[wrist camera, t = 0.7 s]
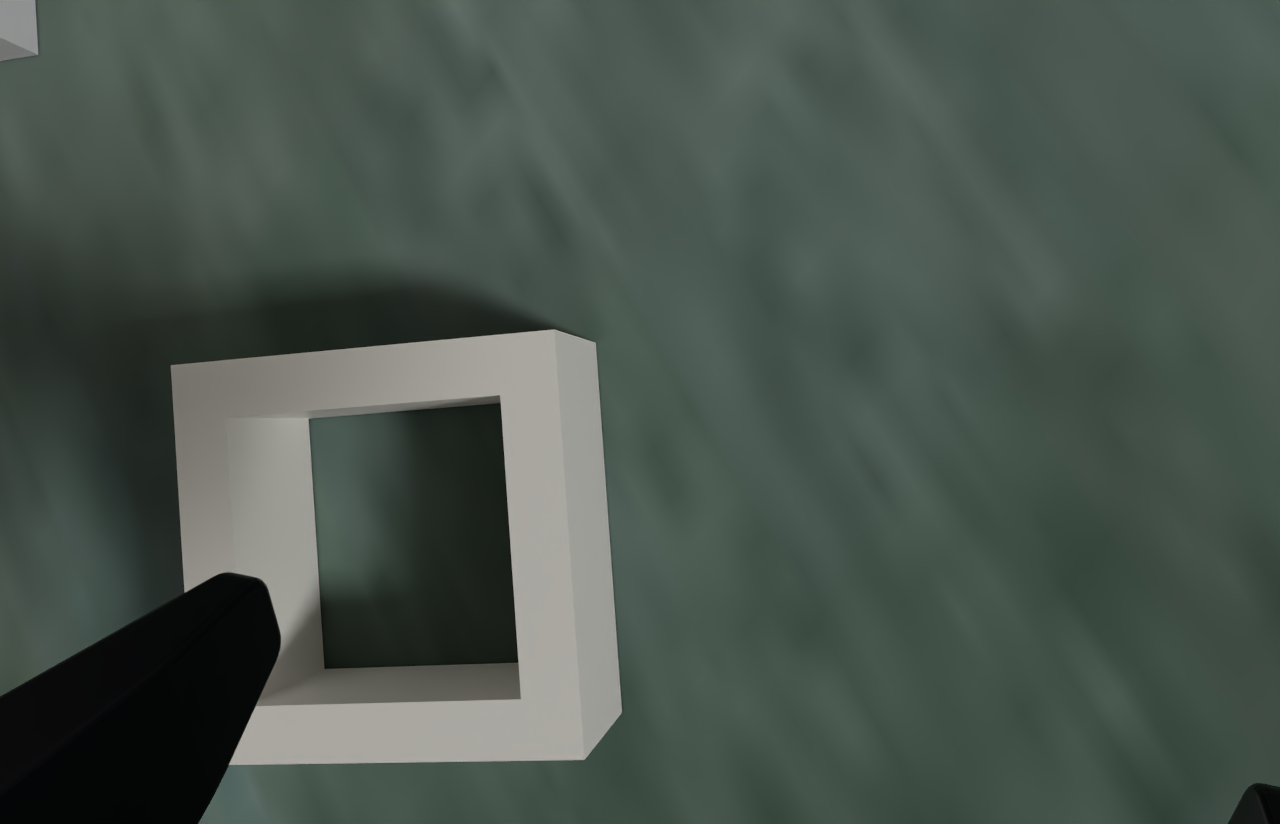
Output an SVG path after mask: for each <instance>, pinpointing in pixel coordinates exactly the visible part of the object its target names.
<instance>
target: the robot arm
mask: <svg viewBox="0 0 1280 824" xmlns="http://www.w3.org/2000/svg"><path fill="white" fill-rule="evenodd" d="M280 647H281V633H280V629H279V625H278V622H277V618H276V615H275V611H274V608H273V604H272V601H271V597H270V594H269V590H268V588H267V585H266V584H265V583H264V582H263V581H262V580H261V579H259V578H257V577H252V576H247V575H242V574H238V573H232V572H224V573H221V574H218V575H216V576H213V577H212V578H210V579H208V580H206V581H205V582H203V583H201V584H199V585H197V586H196V587H194V588H192V589H190V590H189V591H187V592H185V593H183V594H181V595H180V596H178V597H176V598H174V599H173V600H171V601H169V602H167V603H166V604H164V605H162V606H160V607H158V608H157V609H155V610H153V611H151V612H150V613H148V614H146V615H144V616H142V617H141V618H139V619H137V620H135V621H134V622H132V623H130V624H128V625H126V626H125V627H123V628H121V629H119V630H118V631H116V632H114V633H112V634H110V635H109V636H107V637H105V638H103V639H102V640H100V641H98V642H96V643H94V644H93V645H91V646H89V647H87V648H86V649H84V650H82V651H80V652H78V653H77V654H75V655H73V656H71V657H70V658H68V659H66V660H64V661H62V662H61V663H59V664H57V665H55V666H54V667H52V668H50V669H48V670H46V671H45V672H43V673H41V674H39V675H38V676H36V677H34V678H32V679H31V680H29V681H27V682H25V683H23V684H22V685H20V686H18V687H16V688H15V689H13V690H11V691H9V692H7V693H6V694H4V695H2V696H0V824H198V823H199V821H200V819H201V818H202V816H203V814H204V812H205V810H206V809H207V807H208V805H209V803H210V801H211V800H212V798H213V796H214V794H215V792H216V790H217V788H218V786H219V784H220V782H221V780H222V778H223V776H224V774H225V772H226V770H227V768H228V766H229V763H230V761H231V759H232V757H233V755H234V753H235V750H236V748H237V746H238V744H239V742H240V739H241V737H242V735H243V733H244V731H245V729H246V726H247V724H248V722H249V720H250V718H251V715H252V713H253V711H254V709H255V707H256V705H257V702H258V700H259V698H260V696H261V694H262V691H263V689H264V687H265V685H266V683H267V681H268V678H269V676H270V674H271V672H272V670H273V668H274V665H275V663H276V661H277V658H278V655H279V652H280ZM1228 824H1280V787H1277V786H1272V785H1267V784H1262V783H1255V784H1253V785H1251V786H1250V787H1248V788H1247V790H1246V791H1245V792H1244V794H1243V796H1242V798H1241V800H1240V802H1239V804H1238V806H1237V807H1236V809H1235V811H1234V813H1233V815H1232V817H1231V819H1230V821H1229V823H1228Z"/></svg>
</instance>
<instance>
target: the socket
mask: <svg viewBox="0 0 1280 824" xmlns="http://www.w3.org/2000/svg"><path fill="white" fill-rule="evenodd" d="M171 378H172V395H173V411H174V428H175V444H176V460H177V477H178V493H179V510H180V526H181V543H182V559H183V576H184V592H187V591H189V590H190V589H192V588H194V587H196V586H197V585H199V584H201V583H203V582H205V581H206V580H208V579H210V578H212V577H213V576H216V575H218V574H221V573H224V572H232V573H238V574H242V575H247V576H252V577H257V578H259V579H261V580H262V581H263V582H264V583H265V584H266V585H267V588H268V590H269V594H270V597H271V601H272V604H273V608H274V611H275V615H276V618H277V622H278V625H279V629H280V633H281V647H280V652H279V655H278V658H277V661H276V663H275V665H274V668H273V670H272V672H271V674H270V676H269V678H268V681H267V683H266V685H265V687H264V689H263V691H262V694H261V696H260V698H259V700H258V702H257V705H256V707H255V709H254V711H253V713H252V715H251V718H250V720H249V722H248V724H247V726H246V729H245V731H244V733H243V735H242V737H241V739H240V742H239V744H238V746H237V748H236V750H235V753H234V755H233V757H232V759H231V761H230V763H229V765H260V764H329V763H398V762H467V761H536V760H585V758H586V757H587V756H588V755H589V753H590V752H591V751H592V750H593V748H594V747H595V746H596V745H597V743H598V742H599V741H600V740H601V738H602V737H603V736H604V735H605V733H606V732H607V731H608V730H609V728H610V727H611V726H612V725H613V723H614V722H615V721H616V719H617V718H618V717H619V716H620V714H621V713H622V707H621V692H620V678H619V664H618V650H617V636H616V622H615V608H614V594H613V580H612V566H611V552H610V537H609V523H608V509H607V495H606V481H605V467H604V453H603V439H602V425H601V411H600V396H599V382H598V368H597V354H596V343H595V342H592V341H589V340H586V339H583V338H579V337H576V336H573V335H570V334H567V333H564V332H561V331H558V330H555V329H553V330H543V331H532V332H521V333H511V334H500V335H489V336H478V337H468V338H457V339H446V340H435V341H425V342H414V343H403V344H393V345H382V346H371V347H360V348H350V349H339V350H328V351H317V352H307V353H296V354H285V355H275V356H264V357H253V358H242V359H232V360H221V361H210V362H199V363H189V364H178V365H171ZM496 403H501V415H502V429H503V444H504V458H505V473H506V487H507V502H508V517H509V531H510V546H511V560H512V575H513V590H514V604H515V619H516V633H517V648H518V663H492V664H461V665H430V666H400V667H369V668H338V669H324V654H323V638H322V623H321V607H320V591H319V576H318V560H317V544H316V529H315V513H314V498H313V482H312V466H311V451H310V435H309V419H310V418H322V417H335V416H347V415H360V414H372V413H384V412H397V411H409V410H422V409H434V408H446V407H459V406H471V405H484V404H496Z"/></svg>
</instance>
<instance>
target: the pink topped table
mask: <svg viewBox="0 0 1280 824" xmlns="http://www.w3.org/2000/svg"><path fill="white" fill-rule="evenodd" d="M34 55H38V41H37V24H36V7H35V0H0V61H3V60H9V59H15V58H22V57H28V56H34Z"/></svg>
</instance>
